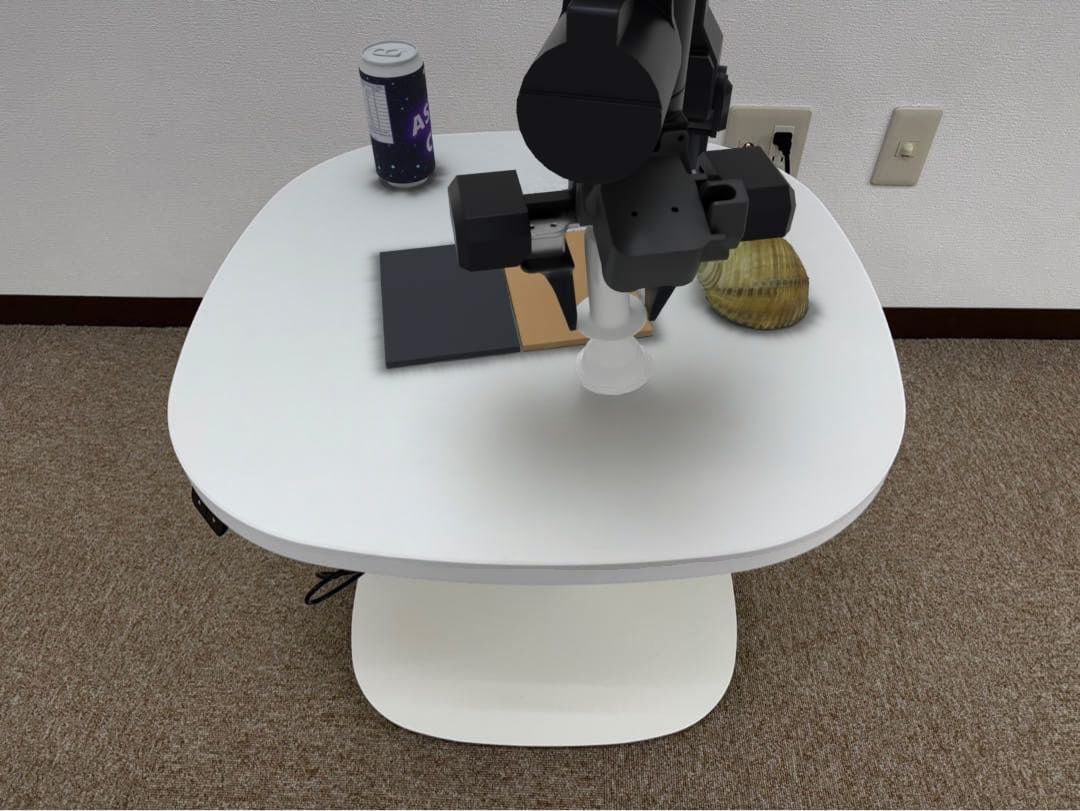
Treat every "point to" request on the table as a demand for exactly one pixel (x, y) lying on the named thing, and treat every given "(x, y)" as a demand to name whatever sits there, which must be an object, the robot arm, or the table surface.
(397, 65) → the beverage can
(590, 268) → the candle
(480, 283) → the sorting mat
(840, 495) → the table surface
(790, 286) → the seashell
